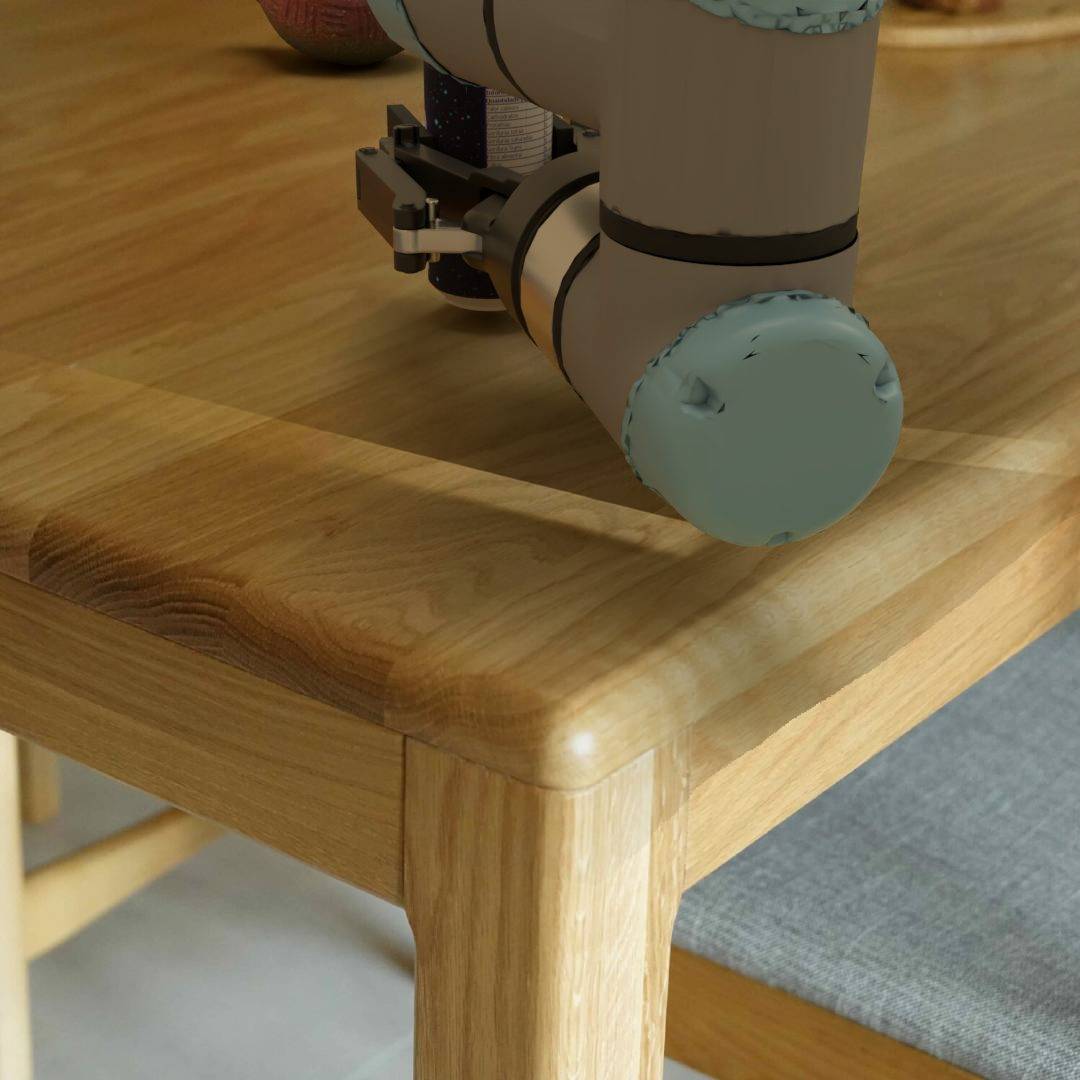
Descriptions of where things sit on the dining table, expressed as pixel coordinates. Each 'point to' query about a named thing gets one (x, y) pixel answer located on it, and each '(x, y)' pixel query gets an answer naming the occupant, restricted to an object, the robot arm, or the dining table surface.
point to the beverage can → (480, 161)
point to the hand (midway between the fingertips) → (461, 130)
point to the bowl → (331, 30)
